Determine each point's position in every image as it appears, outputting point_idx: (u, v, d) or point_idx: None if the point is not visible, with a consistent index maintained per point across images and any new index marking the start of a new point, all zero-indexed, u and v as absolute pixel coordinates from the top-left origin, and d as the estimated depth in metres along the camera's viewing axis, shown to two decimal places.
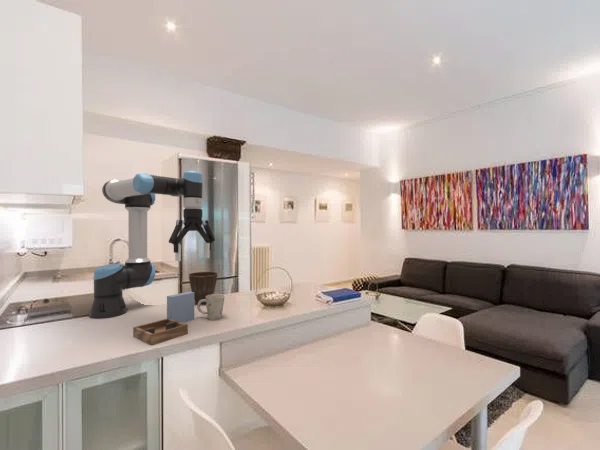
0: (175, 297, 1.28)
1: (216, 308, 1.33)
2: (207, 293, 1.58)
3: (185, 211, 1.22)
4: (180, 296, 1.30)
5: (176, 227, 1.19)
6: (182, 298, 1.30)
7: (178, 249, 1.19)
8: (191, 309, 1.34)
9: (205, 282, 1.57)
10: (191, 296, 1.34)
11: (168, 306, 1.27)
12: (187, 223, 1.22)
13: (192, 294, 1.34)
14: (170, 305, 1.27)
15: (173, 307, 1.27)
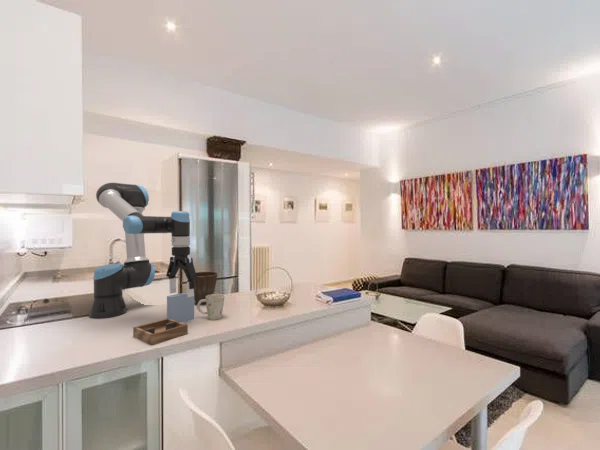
0: (175, 297, 1.28)
1: (216, 308, 1.33)
2: (207, 293, 1.58)
3: None
4: (180, 296, 1.30)
5: None
6: (182, 298, 1.30)
7: None
8: (191, 309, 1.34)
9: (205, 282, 1.57)
10: None
11: (168, 306, 1.27)
12: (174, 260, 1.33)
13: None
14: (170, 305, 1.27)
15: (173, 307, 1.27)
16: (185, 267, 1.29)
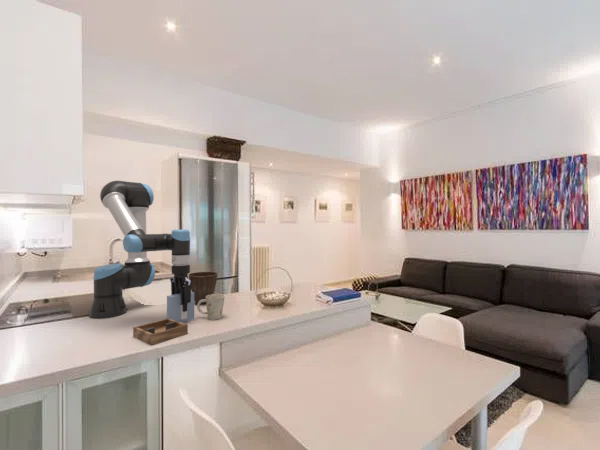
0: (175, 297, 1.28)
1: (216, 308, 1.33)
2: (207, 293, 1.58)
3: None
4: (180, 296, 1.30)
5: None
6: None
7: None
8: (191, 309, 1.34)
9: (205, 282, 1.57)
10: (191, 296, 1.34)
11: (168, 306, 1.27)
12: (174, 278, 1.33)
13: (192, 294, 1.34)
14: (170, 305, 1.27)
15: (173, 307, 1.27)
16: (183, 288, 1.30)
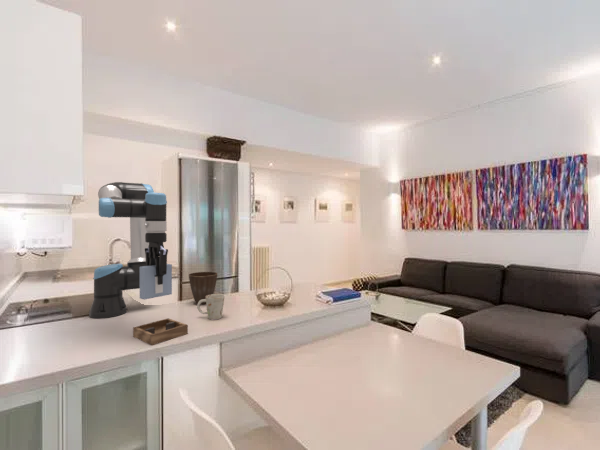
0: (149, 268, 1.13)
1: (216, 308, 1.33)
2: (207, 293, 1.58)
3: None
4: (155, 267, 1.15)
5: None
6: None
7: None
8: (167, 283, 1.19)
9: (205, 282, 1.57)
10: (168, 268, 1.19)
11: (141, 278, 1.13)
12: None
13: (169, 266, 1.20)
14: (142, 277, 1.12)
15: (146, 278, 1.13)
16: (158, 258, 1.15)
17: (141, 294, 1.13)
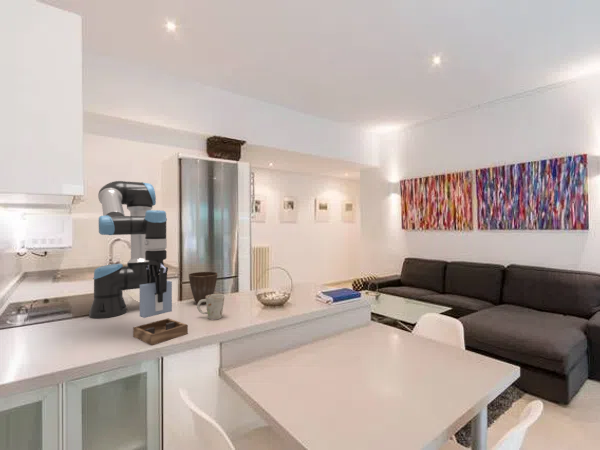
0: (149, 286, 1.13)
1: (216, 308, 1.33)
2: (207, 293, 1.58)
3: None
4: (155, 285, 1.15)
5: None
6: None
7: None
8: (168, 300, 1.19)
9: (205, 282, 1.57)
10: (168, 286, 1.19)
11: (141, 296, 1.13)
12: (149, 265, 1.18)
13: (169, 283, 1.20)
14: (142, 295, 1.12)
15: (147, 297, 1.12)
16: (158, 276, 1.15)
17: (141, 312, 1.13)
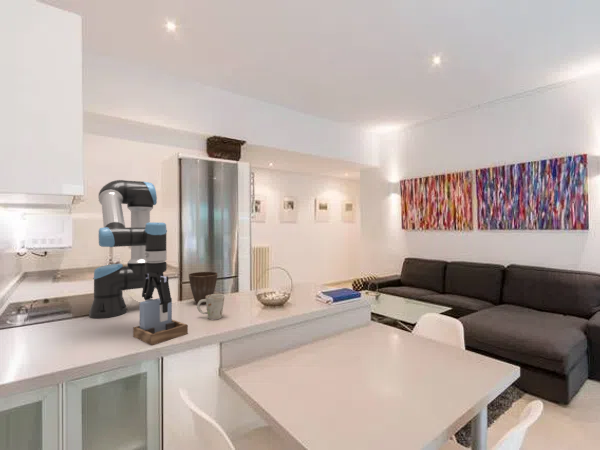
0: (149, 303, 1.13)
1: (216, 308, 1.33)
2: (207, 293, 1.58)
3: None
4: (155, 302, 1.15)
5: None
6: (157, 304, 1.16)
7: None
8: None
9: (205, 282, 1.57)
10: None
11: (141, 313, 1.13)
12: (149, 277, 1.18)
13: None
14: (142, 313, 1.12)
15: (146, 314, 1.13)
16: (159, 287, 1.14)
17: None
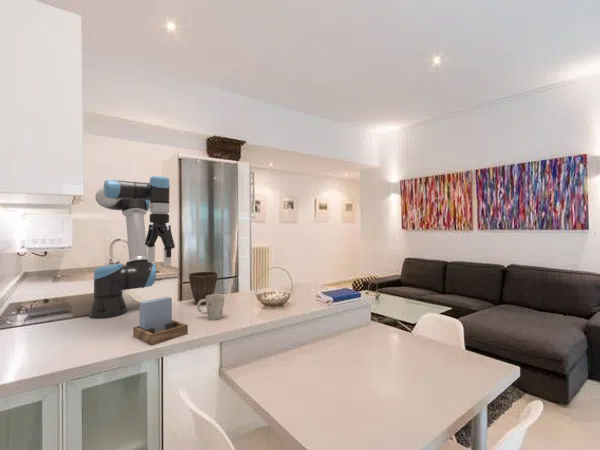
0: (149, 303, 1.13)
1: (216, 308, 1.33)
2: (207, 293, 1.58)
3: None
4: (155, 302, 1.15)
5: None
6: (157, 304, 1.16)
7: None
8: (167, 316, 1.19)
9: (205, 282, 1.57)
10: (168, 302, 1.19)
11: (141, 313, 1.13)
12: (153, 228, 1.28)
13: (169, 300, 1.20)
14: (142, 313, 1.12)
15: (146, 314, 1.13)
16: (163, 235, 1.24)
17: None
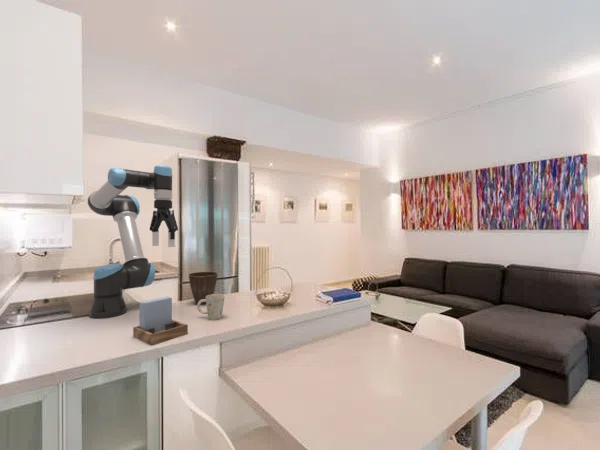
0: (149, 303, 1.13)
1: (216, 308, 1.33)
2: (207, 293, 1.58)
3: None
4: (155, 302, 1.15)
5: None
6: (157, 304, 1.16)
7: None
8: (167, 316, 1.19)
9: (205, 282, 1.57)
10: (168, 302, 1.19)
11: (141, 313, 1.13)
12: (157, 213, 1.38)
13: (169, 300, 1.20)
14: (142, 313, 1.12)
15: (146, 314, 1.13)
16: (167, 219, 1.34)
17: None
